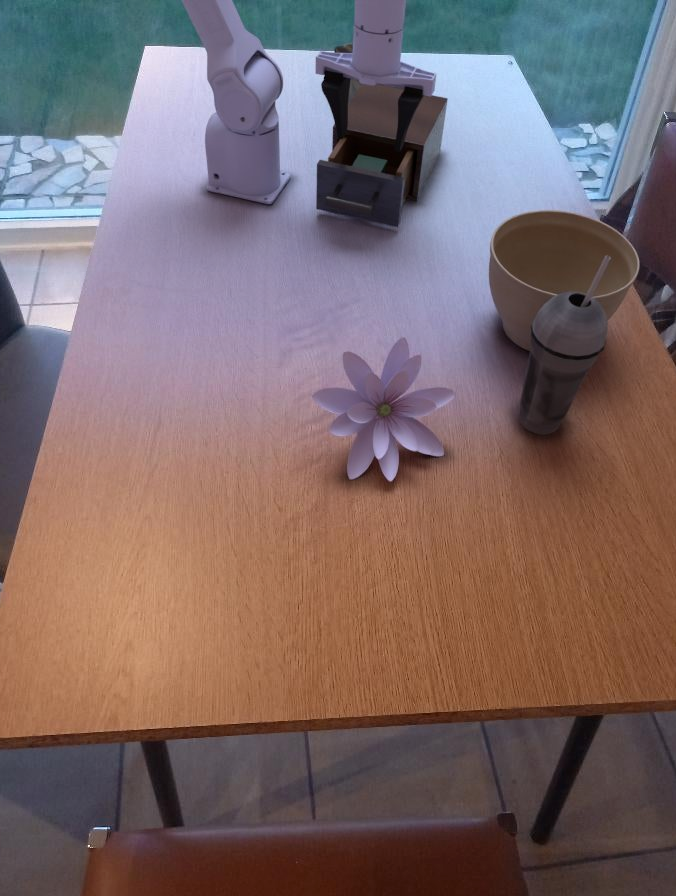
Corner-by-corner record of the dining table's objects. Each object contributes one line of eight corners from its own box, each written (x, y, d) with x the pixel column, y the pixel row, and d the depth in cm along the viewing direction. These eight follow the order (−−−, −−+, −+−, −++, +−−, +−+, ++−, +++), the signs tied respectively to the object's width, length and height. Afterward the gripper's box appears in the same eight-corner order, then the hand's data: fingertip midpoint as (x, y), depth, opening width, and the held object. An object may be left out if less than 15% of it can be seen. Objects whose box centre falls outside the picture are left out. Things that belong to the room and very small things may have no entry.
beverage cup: (499, 395, 85) (545, 232, 69) (564, 395, 86) (623, 233, 70) (512, 444, 80) (564, 282, 65) (580, 443, 81) (647, 282, 65)
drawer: (388, 246, 99) (393, 201, 94) (304, 227, 101) (304, 181, 96) (422, 177, 110) (427, 133, 105) (345, 161, 112) (347, 117, 107)
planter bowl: (464, 288, 96) (480, 207, 88) (589, 289, 98) (617, 210, 89) (485, 376, 87) (505, 295, 78) (624, 376, 88) (658, 297, 80)
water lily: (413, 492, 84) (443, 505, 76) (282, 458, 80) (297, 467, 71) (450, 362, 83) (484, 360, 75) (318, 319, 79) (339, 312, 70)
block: (348, 196, 104) (350, 168, 101) (357, 182, 106) (358, 154, 103) (377, 203, 103) (379, 174, 100) (385, 188, 106) (387, 160, 103)
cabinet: (416, 202, 108) (424, 145, 101) (331, 183, 109) (332, 126, 103) (440, 153, 117) (447, 98, 110) (360, 136, 118) (363, 81, 112)
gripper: (307, 25, 87) (306, 144, 98) (432, 49, 85) (417, 167, 96) (326, 3, 91) (324, 119, 102) (445, 25, 89) (430, 141, 100)
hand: (370, 141), depth 99 cm, fingers open, 7 cm apart
